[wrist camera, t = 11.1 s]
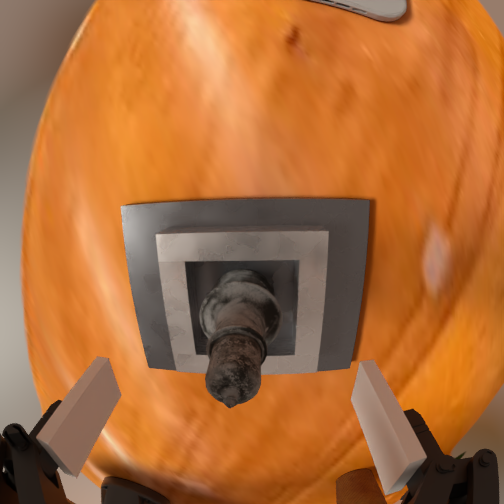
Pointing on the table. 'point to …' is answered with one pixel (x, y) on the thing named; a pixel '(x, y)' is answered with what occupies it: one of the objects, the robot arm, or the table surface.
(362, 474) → the disposable coffee cup
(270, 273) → the collar plate
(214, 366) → the dark grey chess piece
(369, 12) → the handheld gaming console
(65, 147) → the table surface
